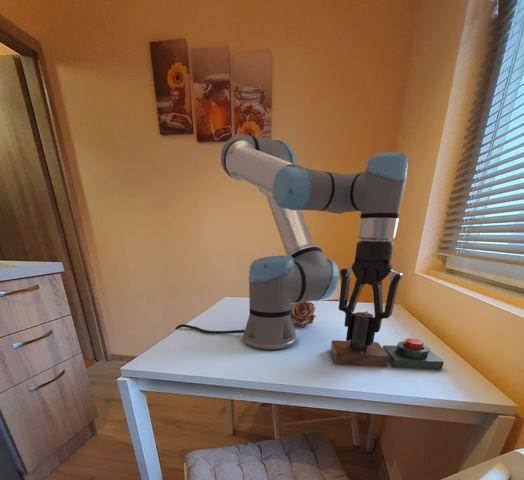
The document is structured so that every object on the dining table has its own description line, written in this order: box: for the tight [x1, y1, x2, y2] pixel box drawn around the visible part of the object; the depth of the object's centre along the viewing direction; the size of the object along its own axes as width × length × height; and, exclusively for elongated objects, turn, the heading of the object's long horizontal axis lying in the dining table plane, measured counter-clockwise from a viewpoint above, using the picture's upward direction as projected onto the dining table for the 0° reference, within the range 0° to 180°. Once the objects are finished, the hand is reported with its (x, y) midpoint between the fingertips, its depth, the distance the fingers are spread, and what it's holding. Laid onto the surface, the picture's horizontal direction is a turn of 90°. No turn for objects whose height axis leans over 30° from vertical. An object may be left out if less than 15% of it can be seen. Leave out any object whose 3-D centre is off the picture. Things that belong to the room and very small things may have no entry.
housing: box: [382, 340, 445, 371], centre depth 69 cm, size 11×9×4 cm
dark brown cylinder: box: [350, 311, 374, 351], centre depth 68 cm, size 4×4×9 cm
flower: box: [291, 301, 317, 328], centre depth 95 cm, size 10×9×8 cm
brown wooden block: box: [330, 339, 389, 368], centre depth 70 cm, size 12×9×3 cm
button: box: [404, 337, 425, 350], centre depth 68 cm, size 4×4×2 cm
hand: (359, 341), depth 69 cm, fingers closed on dark brown cylinder, 4 cm apart
